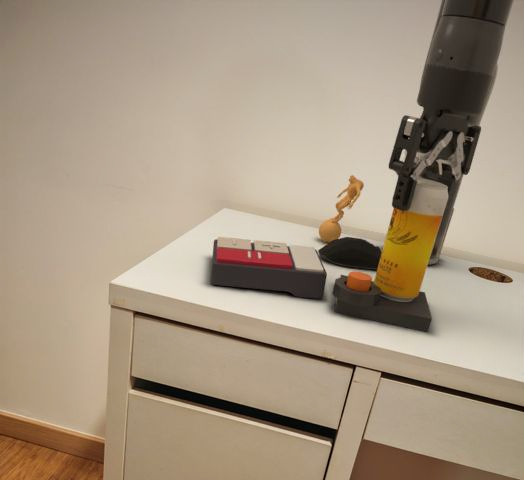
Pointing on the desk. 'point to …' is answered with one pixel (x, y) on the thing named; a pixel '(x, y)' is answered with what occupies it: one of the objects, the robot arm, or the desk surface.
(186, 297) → the desk surface
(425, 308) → the black orange button box
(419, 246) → the beer can
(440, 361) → the desk surface
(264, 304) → the desk surface
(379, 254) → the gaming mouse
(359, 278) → the button
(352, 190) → the figurine
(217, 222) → the desk surface
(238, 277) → the red grey electronic device
